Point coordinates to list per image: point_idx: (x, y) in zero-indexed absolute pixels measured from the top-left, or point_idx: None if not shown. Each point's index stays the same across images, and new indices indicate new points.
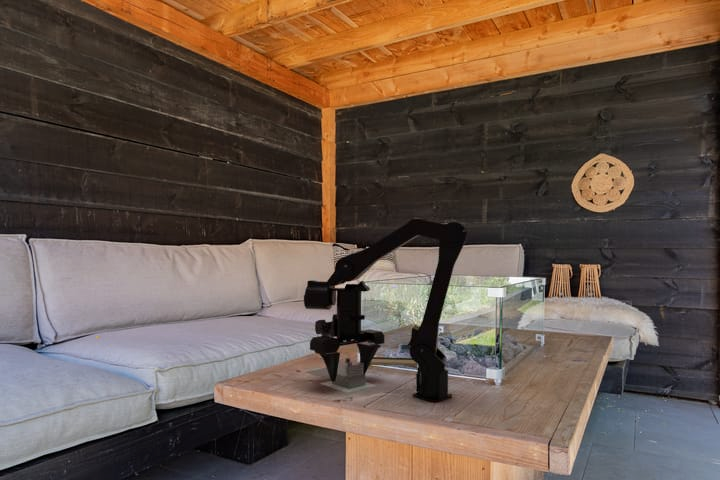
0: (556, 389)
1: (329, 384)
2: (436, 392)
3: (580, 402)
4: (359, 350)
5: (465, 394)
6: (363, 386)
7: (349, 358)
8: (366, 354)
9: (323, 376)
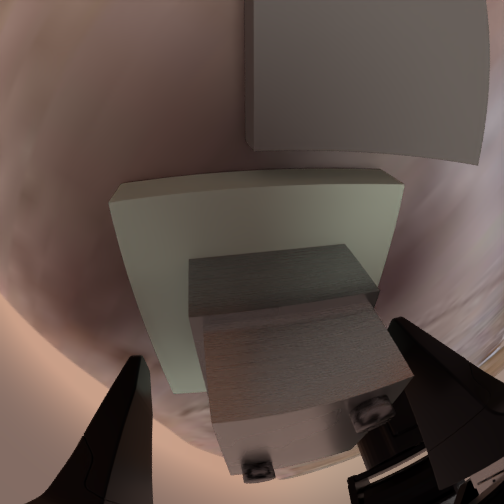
0: None
1: (161, 264)
2: None
3: None
4: (495, 412)
5: None
6: None
7: (384, 422)
8: (442, 437)
9: (281, 25)
